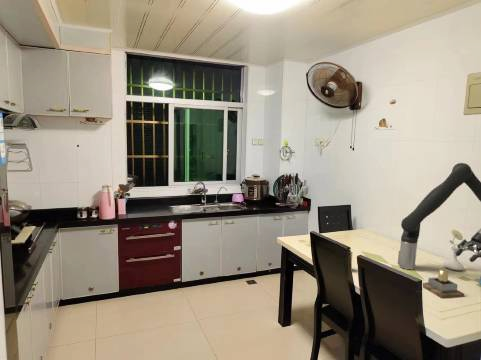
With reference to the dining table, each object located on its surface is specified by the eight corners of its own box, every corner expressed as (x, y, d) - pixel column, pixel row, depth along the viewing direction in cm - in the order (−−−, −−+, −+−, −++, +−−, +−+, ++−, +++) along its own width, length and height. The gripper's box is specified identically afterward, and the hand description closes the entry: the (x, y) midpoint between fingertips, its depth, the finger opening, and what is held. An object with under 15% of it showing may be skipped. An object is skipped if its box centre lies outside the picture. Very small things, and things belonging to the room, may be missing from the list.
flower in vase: (467, 273, 200) (472, 234, 197) (446, 270, 202) (451, 232, 199) (457, 265, 213) (462, 228, 210) (438, 263, 215) (442, 226, 212)
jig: (420, 285, 180) (421, 276, 179) (442, 284, 182) (443, 275, 182) (441, 298, 166) (442, 288, 165) (463, 296, 169) (465, 286, 168)
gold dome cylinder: (435, 286, 176) (437, 269, 174) (441, 285, 177) (443, 268, 175) (441, 290, 172) (443, 272, 170) (448, 289, 173) (450, 271, 171)
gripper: (468, 228, 181) (448, 249, 181) (492, 236, 168) (471, 258, 167) (475, 237, 183) (455, 257, 182) (499, 245, 169) (478, 267, 169)
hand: (463, 258), depth 175 cm, fingers open, 8 cm apart
